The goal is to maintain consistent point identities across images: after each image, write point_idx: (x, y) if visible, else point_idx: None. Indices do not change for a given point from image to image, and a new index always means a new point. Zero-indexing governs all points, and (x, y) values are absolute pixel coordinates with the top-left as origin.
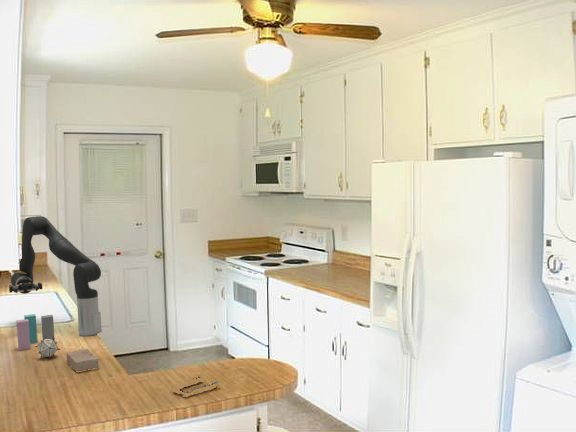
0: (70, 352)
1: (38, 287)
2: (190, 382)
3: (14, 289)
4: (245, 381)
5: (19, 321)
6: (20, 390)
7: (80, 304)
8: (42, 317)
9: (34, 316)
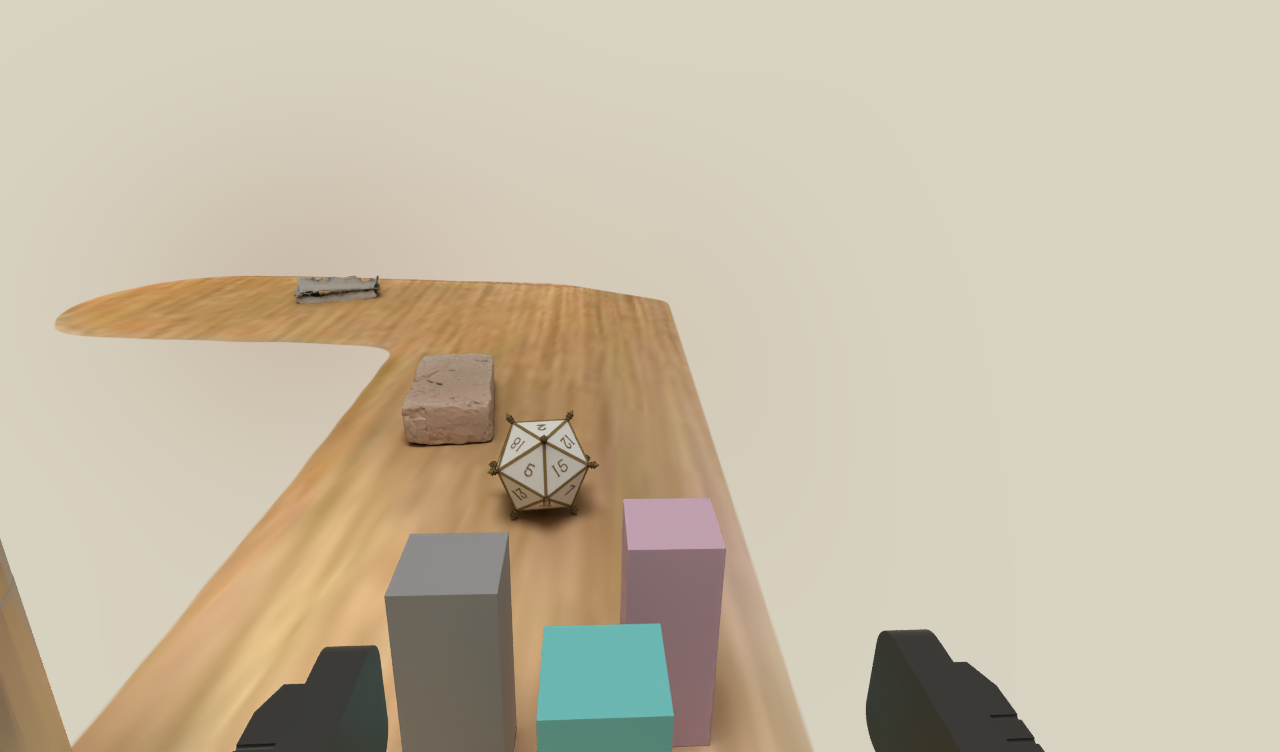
0: (476, 399)
1: (288, 704)
2: (315, 307)
3: (964, 670)
4: (237, 291)
5: (694, 514)
6: (650, 361)
7: (8, 567)
8: (500, 543)
9: (558, 631)
